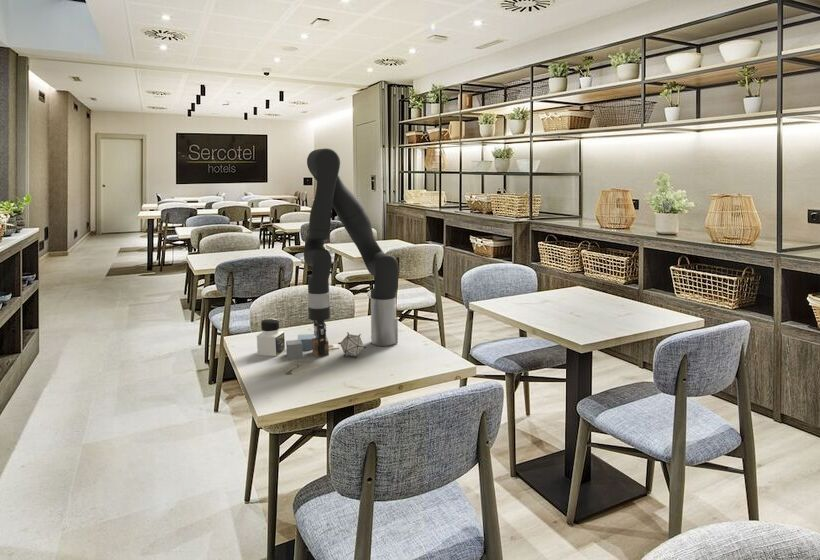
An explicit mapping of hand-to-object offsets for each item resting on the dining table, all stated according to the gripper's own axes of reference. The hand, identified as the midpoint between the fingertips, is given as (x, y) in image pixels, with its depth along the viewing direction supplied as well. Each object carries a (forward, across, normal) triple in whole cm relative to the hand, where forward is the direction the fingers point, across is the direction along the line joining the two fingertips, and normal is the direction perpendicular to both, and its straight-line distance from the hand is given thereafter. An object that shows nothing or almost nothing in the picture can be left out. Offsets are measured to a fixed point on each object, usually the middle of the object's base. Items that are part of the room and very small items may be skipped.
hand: (320, 352), depth 197 cm
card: (0, +6, -4) cm, 7 cm away
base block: (+1, +9, +4) cm, 10 cm away
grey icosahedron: (+1, -6, -10) cm, 12 cm away
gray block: (+1, 0, +9) cm, 9 cm away
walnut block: (0, 0, 0) cm, 0 cm away
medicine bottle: (+1, +6, +16) cm, 17 cm away
